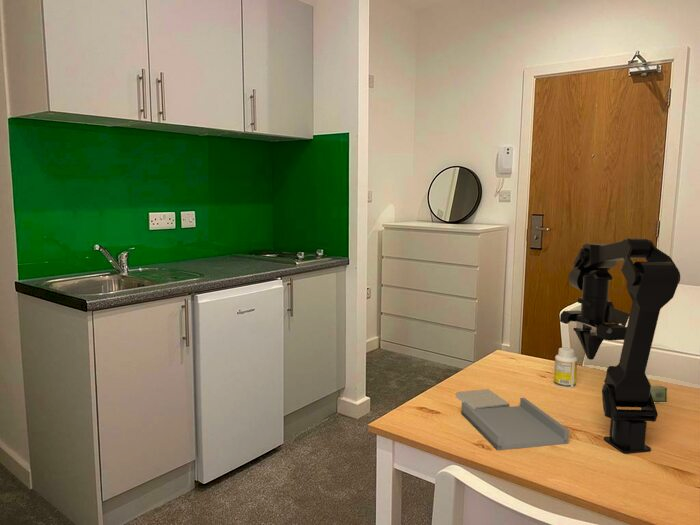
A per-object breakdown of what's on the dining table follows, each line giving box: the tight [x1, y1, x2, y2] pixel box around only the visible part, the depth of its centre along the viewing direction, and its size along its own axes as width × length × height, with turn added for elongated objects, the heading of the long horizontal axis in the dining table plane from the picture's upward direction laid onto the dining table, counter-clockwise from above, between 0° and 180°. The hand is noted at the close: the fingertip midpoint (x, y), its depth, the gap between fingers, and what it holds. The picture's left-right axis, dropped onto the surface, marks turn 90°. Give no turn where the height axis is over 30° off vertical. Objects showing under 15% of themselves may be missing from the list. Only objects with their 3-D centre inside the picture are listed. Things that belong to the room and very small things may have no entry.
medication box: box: [650, 385, 668, 404], centre depth 135 cm, size 12×3×4 cm, turn 94°
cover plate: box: [455, 388, 510, 409], centre depth 133 cm, size 10×9×2 cm
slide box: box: [460, 397, 570, 451], centre depth 119 cm, size 18×16×3 cm
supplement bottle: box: [553, 347, 578, 389], centre depth 145 cm, size 6×6×10 cm
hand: (590, 359), depth 130 cm, fingers closed
